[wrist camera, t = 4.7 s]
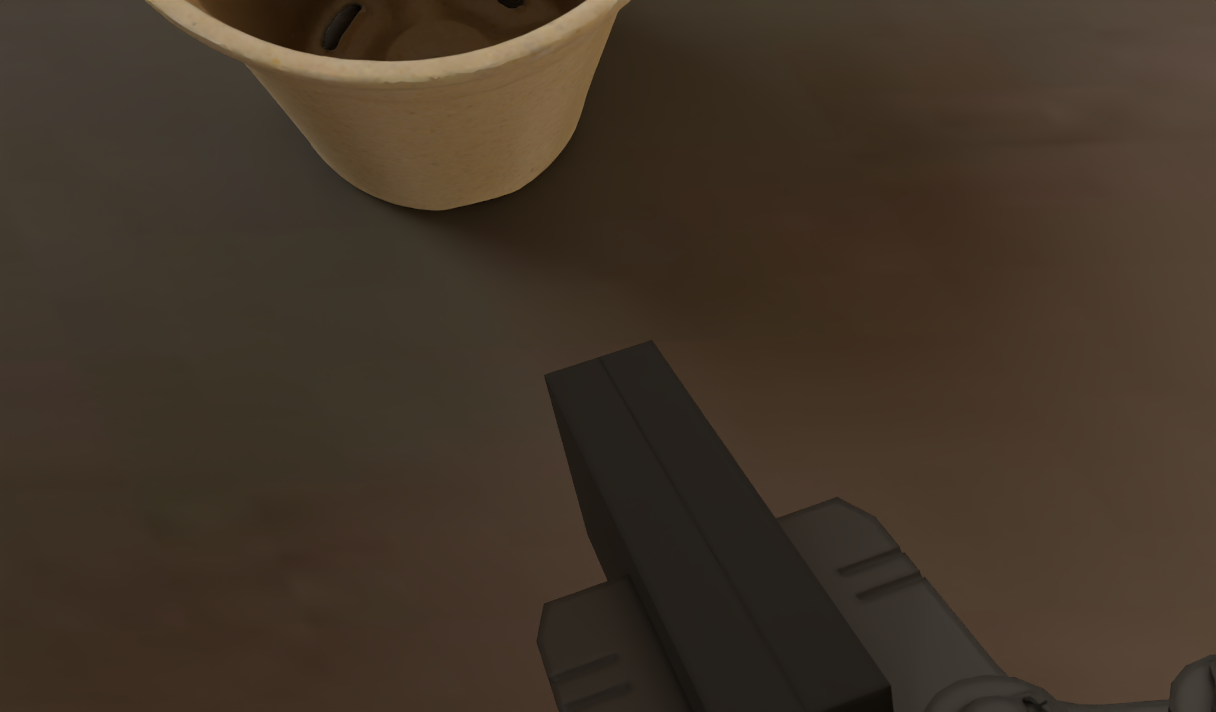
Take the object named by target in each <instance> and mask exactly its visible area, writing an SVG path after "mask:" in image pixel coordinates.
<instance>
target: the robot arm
mask: <svg viewBox="0 0 1216 712" xmlns="http://www.w3.org/2000/svg"><path fill="white" fill-rule="evenodd" d="M544 376H545V380H546V384H547V387H548V391H549V395H550V398H551V402H552V406H553V409H554V413H555V417H556V420H557V424H558V428H559V431H560V435H561V439H562V442H563V446H564V450H565V453H566V457H567V461H568V465H569V468H570V472H571V476H572V479H573V483H574V487H575V490H576V494H577V498H578V501H579V505H580V509H581V512H582V516H583V520H584V523H585V527H586V531H587V534H588V537H589V539H590V541H591V543H592V546H593V548H594V550H595V552H596V555H597V557H598V559H599V562H600V564H601V566H602V568H603V571H604V573H605V575H606V577H607V580H608V581H607V582H604V583H601V584H598V585H596V586H593V587H590V588H587V589H584V590H581V591H579V592H576V593H573V594H570V595H567V596H564V597H562V598H559V599H556V600H553V601H550V602H547V603H545V604H544V606H543V611H542V616H541V621H540V626H539V631H538V636H537V641H536V642H537V645H538V648H539V651H540V654H541V657H542V661H543V664H544V667H545V670H546V673H547V676H548V679H549V682H550V685H551V688H552V692H553V695H554V698H555V701H556V704H557V707H558V710H559V712H1216V654H1215V655H1209V656H1207V657H1205V658H1202V659H1200V660H1198V661H1195V662H1193V663H1191V664H1189V665H1186V666H1185V667H1184V669H1183V670H1182V671H1181V672H1180V673H1179V675H1178V676H1177V677H1176V678H1175V679H1174V681H1173V682H1172V683H1171V690H1170V699H1169V700H1157V701H1144V702H1132V703H1119V704H1107V705H1079V704H1073V703H1068V702H1063V701H1058V700H1056V699H1055V698H1054V697H1053V696H1052V695H1050V694H1049V693H1048V692H1047V691H1045V690H1044V689H1043V688H1041V687H1038V686H1035V685H1033V684H1030V683H1028V682H1025V681H1023V680H1020V679H1018V678H1015V677H1009V676H1008V675H1007V674H1006V673H1005V672H1004V671H1003V670H1002V669H1001V668H1000V667H999V666H998V665H997V664H996V663H995V662H994V661H993V659H992V658H991V657H990V656H989V655H988V653H987V652H986V651H985V650H984V648H983V647H982V646H981V645H980V644H979V642H978V641H977V640H976V639H975V638H974V636H973V635H972V634H971V633H970V631H969V630H968V629H967V628H966V627H965V625H964V624H963V623H962V622H961V621H960V619H959V618H958V617H957V616H956V614H955V613H954V612H953V611H952V610H951V608H950V607H949V606H948V605H947V604H946V602H945V601H944V600H943V599H942V597H941V596H940V595H939V594H938V593H937V591H936V590H935V589H934V588H933V587H932V585H931V584H930V583H929V582H928V580H927V579H926V578H925V577H924V578H922V576H921V574H920V571H919V570H918V568H917V567H916V566H915V565H914V563H913V562H912V561H911V560H910V559H909V557H908V556H907V555H906V554H905V553H902V552H901V550H900V547H899V545H898V544H897V543H896V542H895V540H894V539H893V538H892V537H891V536H890V534H889V533H888V532H887V531H886V530H885V528H884V527H883V526H882V525H881V523H880V522H879V521H878V520H877V519H876V517H874V516H872V515H870V514H868V513H867V512H865V511H863V510H861V509H859V508H857V507H855V506H853V505H851V504H850V503H848V502H846V501H844V500H842V499H840V498H838V497H836V498H833V499H830V500H827V501H825V502H822V503H819V504H816V505H813V506H810V507H808V508H805V509H802V510H799V511H796V512H794V513H791V514H788V515H785V516H782V517H779V518H777V519H775V517H774V516H773V514H772V513H771V511H770V510H769V509H768V507H767V506H766V504H765V503H764V501H763V500H762V498H761V497H760V496H759V494H758V493H757V491H756V490H755V488H754V487H753V485H752V484H751V483H750V481H749V480H748V478H747V477H746V475H745V474H744V472H743V471H742V470H741V468H740V467H739V465H738V464H737V462H736V461H735V459H734V458H733V457H732V455H731V454H730V452H729V451H728V449H727V448H726V446H725V445H724V444H723V442H722V441H721V439H720V438H719V436H718V435H717V433H716V432H715V431H714V429H713V428H712V426H711V425H710V423H709V422H708V420H707V419H706V418H705V416H704V415H703V413H702V412H701V410H700V409H699V407H698V406H697V405H696V403H695V402H694V400H693V399H692V397H691V396H690V394H689V393H688V392H687V390H686V389H685V387H684V386H683V384H682V383H681V381H680V380H679V379H678V377H677V376H676V374H675V373H674V371H673V370H672V369H671V367H670V366H669V364H668V363H667V361H666V360H665V358H664V357H663V356H662V354H661V353H660V351H659V350H658V348H657V347H656V345H655V344H654V343H653V341H652V340H651V341H647V342H644V343H641V344H638V345H635V346H632V347H629V348H626V349H623V350H620V351H617V352H614V353H611V354H607V355H604V356H601V357H598V358H595V359H592V360H589V361H586V362H583V363H580V364H577V365H574V366H570V367H567V368H564V369H561V370H558V371H555V372H552V373H549V374H546V375H544Z"/></svg>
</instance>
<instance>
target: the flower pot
mask: <svg viewBox="0 0 1216 712" xmlns="http://www.w3.org/2000/svg"><path fill="white" fill-rule="evenodd" d="M145 1H146V2H147V3H148V4H149V5H150V6H151V7H153V8H154V9H155V10H156V11H157V12H158V13H160V14H161V15H162V16H163V17H165V18H166V19H167V20H168V21H170V22H171V23H172V24H174V25H175V26H176V27H178V28H179V29H181V30H182V31H184V32H185V33H187V34H188V35H190V36H192V37H193V38H195V39H197V40H199V41H200V42H202V43H204V44H205V45H207V46H209V47H210V48H212V49H214V50H216V51H219V52H221V53H223V54H225V55H227V56H229V57H231V58H233V59H236V60H238V61H241V62H243V63H244V64H245V65H246V66H247V67H248V68H249V69H250V71H251V72H252V73H253V74H254V75H255V77H256V78H257V79H258V80H259V81H260V82H261V84H262V85H263V86H264V87H265V88H266V90H267V91H268V92H269V93H270V94H271V96H272V97H273V98H274V99H275V100H276V102H277V103H278V104H279V105H280V106H281V108H282V109H283V110H284V111H285V112H286V114H287V115H288V116H289V117H290V119H291V120H292V121H293V122H294V124H295V125H296V126H297V127H298V128H299V130H300V131H301V132H302V133H303V135H304V136H305V137H306V138H307V140H308V141H309V142H310V144H311V145H312V147H313V148H314V149H315V151H316V152H317V153H318V154H319V156H320V157H321V158H322V159H323V160H324V161H325V162H326V163H327V164H328V165H329V166H330V167H331V168H332V169H333V170H334V171H335V172H336V173H338V174H339V175H340V176H341V177H342V178H344V179H345V180H346V181H348V182H349V183H351V184H352V185H354V186H355V187H357V188H359V189H360V190H362V191H364V192H366V193H368V194H370V195H372V196H374V197H377V198H379V199H382V200H385V201H387V202H390V203H393V204H397V205H401V206H405V207H410V208H415V209H423V210H447V209H451V208H456V207H460V206H465V205H470V204H474V203H477V202H481V201H485V200H489V199H493V198H497V197H500V196H503V195H506V194H509V193H512V192H514V191H516V190H519V189H520V188H522V187H523V186H525V185H526V184H528V183H529V182H531V181H532V180H533V179H534V178H536V177H537V176H538V175H539V174H540V173H541V172H543V171H544V170H545V169H546V168H547V167H548V166H549V165H550V164H551V163H552V162H553V161H554V160H555V159H556V158H557V156H558V155H559V154H560V152H561V151H562V150H563V149H564V147H565V146H566V144H567V143H568V141H569V140H570V138H571V136H572V134H573V132H574V131H575V129H576V126H577V124H578V121H579V119H580V115H581V112H582V109H583V106H584V102H585V99H586V95H587V92H588V90H589V87H590V84H591V81H592V78H593V76H594V73H595V70H596V68H597V65H598V63H599V60H600V57H601V55H602V52H603V49H604V47H605V44H606V42H607V39H608V36H609V34H610V31H611V29H612V26H613V24H614V21H615V18H616V16H617V13H618V11H619V10H620V9H621V8H622V7H623V6H625V5H626V4H627V3H628V2H630V1H631V0H524V1H523V5H521V6H518V7H517V8H511V9H510V8H508V7H506V6H504V5H503V4H501V3H500V2H499V1H498V0H145ZM353 5H359V6H360V7H361V10H360V11H359V12H358V13H357V15H356V17H355V18H354V19H353V21H352V22H351V24H350V25H349V27H348V28H347V30H346V31H345V32H344V34H343V35H342V36H341V38H340V40H339V42H338V45H337V47H336V48H335V49H334V50H330V51H329V50H325V49H324V48H323V42H324V39H325V32H326V30H327V28H328V27H329V26H330V25H331V24H332V22H333V20H334V18H335V17H336V16H337V14H338V13H339V12H341V11H343V10H345V9H347V8H348V7H350V6H353Z"/></svg>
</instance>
